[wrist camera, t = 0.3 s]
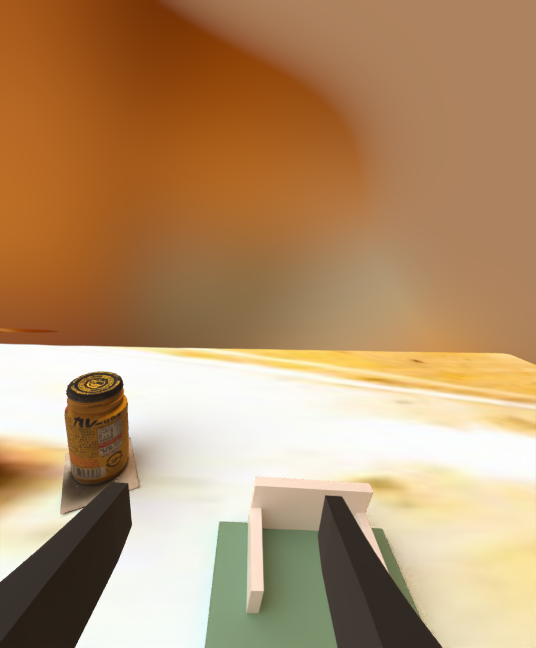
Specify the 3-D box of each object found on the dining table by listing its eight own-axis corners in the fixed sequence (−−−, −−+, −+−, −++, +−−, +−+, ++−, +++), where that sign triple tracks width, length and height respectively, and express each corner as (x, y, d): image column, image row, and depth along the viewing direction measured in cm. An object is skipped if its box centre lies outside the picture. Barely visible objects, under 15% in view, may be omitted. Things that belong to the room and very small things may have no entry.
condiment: (130, 438, 38) (127, 363, 34) (139, 487, 31) (137, 402, 27) (65, 455, 34) (54, 372, 30) (60, 516, 27) (44, 420, 23)
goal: (386, 614, 23) (408, 570, 21) (246, 613, 21) (255, 566, 19) (354, 522, 30) (369, 483, 28) (248, 517, 28) (255, 476, 27)
